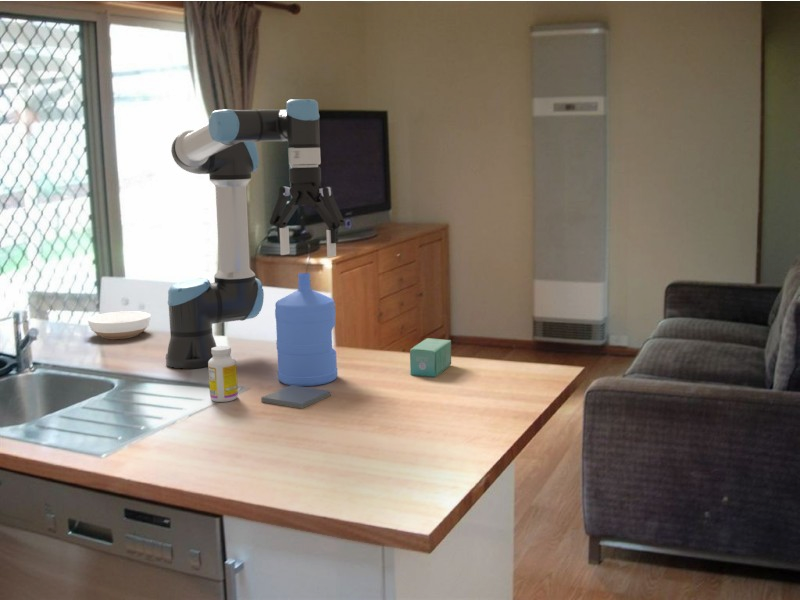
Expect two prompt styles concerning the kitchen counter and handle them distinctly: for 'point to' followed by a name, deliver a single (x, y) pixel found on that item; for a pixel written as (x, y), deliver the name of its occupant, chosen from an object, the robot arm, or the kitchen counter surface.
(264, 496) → the kitchen counter surface
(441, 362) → the box
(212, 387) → the supplement bottle
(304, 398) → the coaster
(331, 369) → the water jug
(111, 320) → the bowl
